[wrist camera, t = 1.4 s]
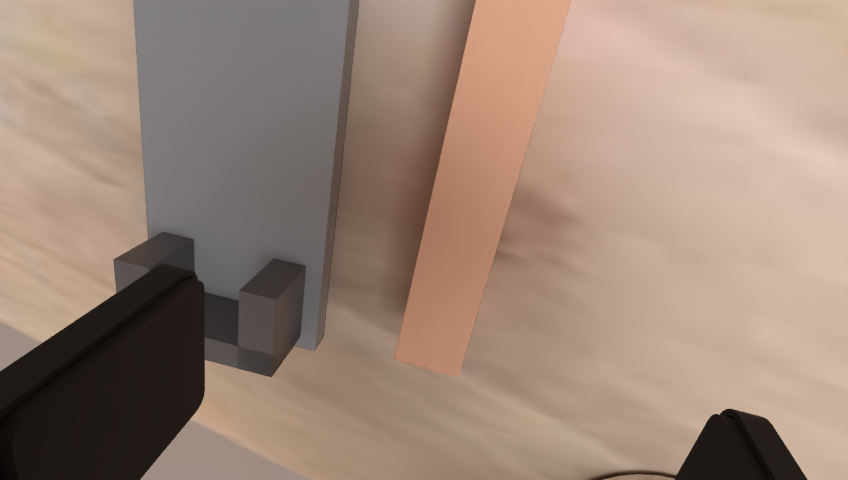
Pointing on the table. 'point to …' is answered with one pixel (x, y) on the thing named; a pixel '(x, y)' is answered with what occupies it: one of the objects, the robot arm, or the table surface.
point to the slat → (477, 174)
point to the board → (247, 134)
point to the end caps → (233, 305)
